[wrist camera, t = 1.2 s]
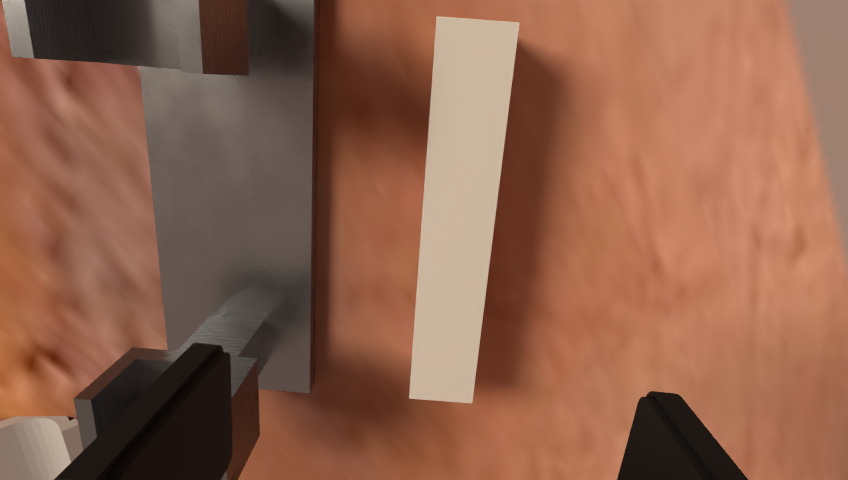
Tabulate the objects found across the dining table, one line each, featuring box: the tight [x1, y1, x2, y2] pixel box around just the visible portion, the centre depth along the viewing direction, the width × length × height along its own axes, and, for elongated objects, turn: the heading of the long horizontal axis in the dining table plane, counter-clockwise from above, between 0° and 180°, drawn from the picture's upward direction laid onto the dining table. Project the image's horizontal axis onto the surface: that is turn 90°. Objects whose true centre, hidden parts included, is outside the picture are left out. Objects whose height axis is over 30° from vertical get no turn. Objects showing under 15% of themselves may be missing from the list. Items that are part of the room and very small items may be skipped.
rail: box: [409, 16, 519, 403], centre depth 29 cm, size 22×4×5 cm, turn 176°
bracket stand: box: [2, 0, 319, 480], centre depth 25 cm, size 28×10×12 cm, turn 175°
